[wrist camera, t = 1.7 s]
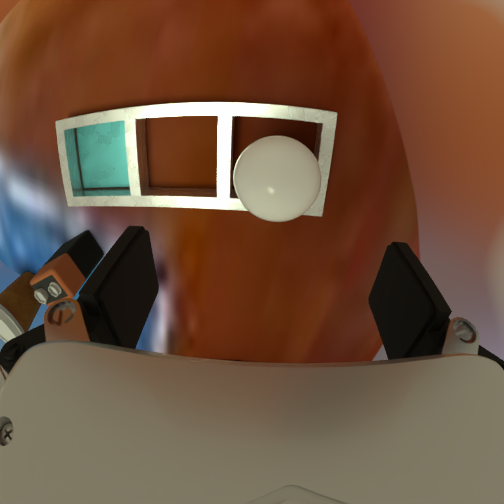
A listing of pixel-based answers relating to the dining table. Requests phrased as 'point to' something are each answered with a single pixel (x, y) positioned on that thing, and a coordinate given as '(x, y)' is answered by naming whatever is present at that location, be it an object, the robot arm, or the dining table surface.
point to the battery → (66, 269)
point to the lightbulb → (277, 178)
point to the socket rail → (135, 154)
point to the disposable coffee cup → (17, 307)
